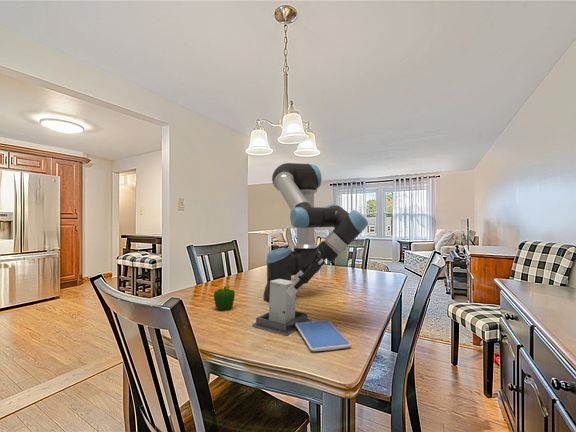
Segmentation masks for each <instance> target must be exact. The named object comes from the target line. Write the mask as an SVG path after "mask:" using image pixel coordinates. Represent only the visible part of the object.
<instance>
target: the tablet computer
mask: <svg viewBox="0 0 576 432" xmlns="http://www.w3.org/2000/svg"><path fill="white" fill-rule="evenodd" d="M295 326H296V327H297V329H298V332H299V333H300V335H301V337H302V338H303V339H304V341H305V343H306V344H307V347H308V348H309V350H310V351H311V352H324V351H332V350H340V349H345V348H351V346H352V344H351V343H350V341H348V339H346V337H345V336H344V335H343V334H342V333H341V332H340V331H339V330H338V329H337V328H336V327H335V325H333V323H332V322H331V321H330V320H328V319H326V320H315V321H312V320H311V322H301V323H296V324H295Z"/></svg>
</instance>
